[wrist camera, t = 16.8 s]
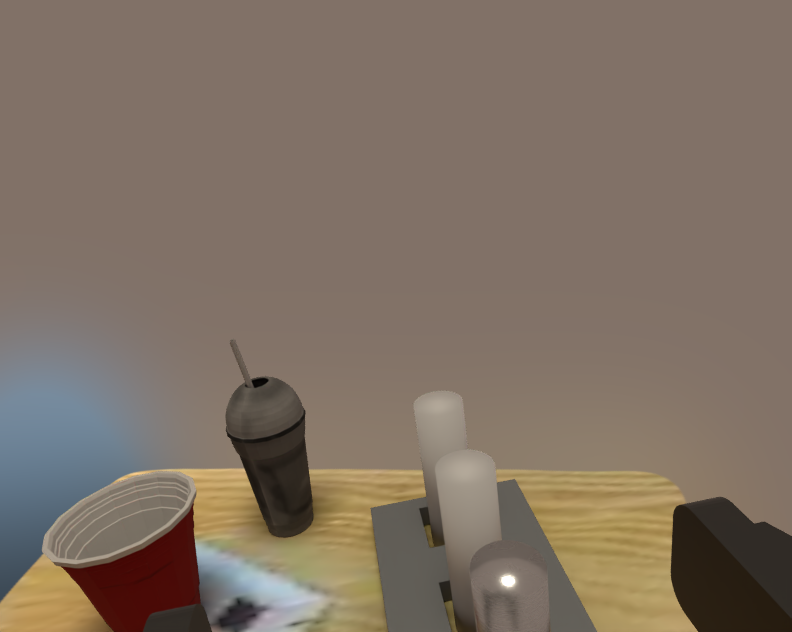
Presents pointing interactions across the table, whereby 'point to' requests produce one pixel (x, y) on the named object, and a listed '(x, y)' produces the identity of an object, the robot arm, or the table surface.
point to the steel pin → (510, 588)
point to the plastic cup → (131, 548)
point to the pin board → (457, 531)
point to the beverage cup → (272, 449)
